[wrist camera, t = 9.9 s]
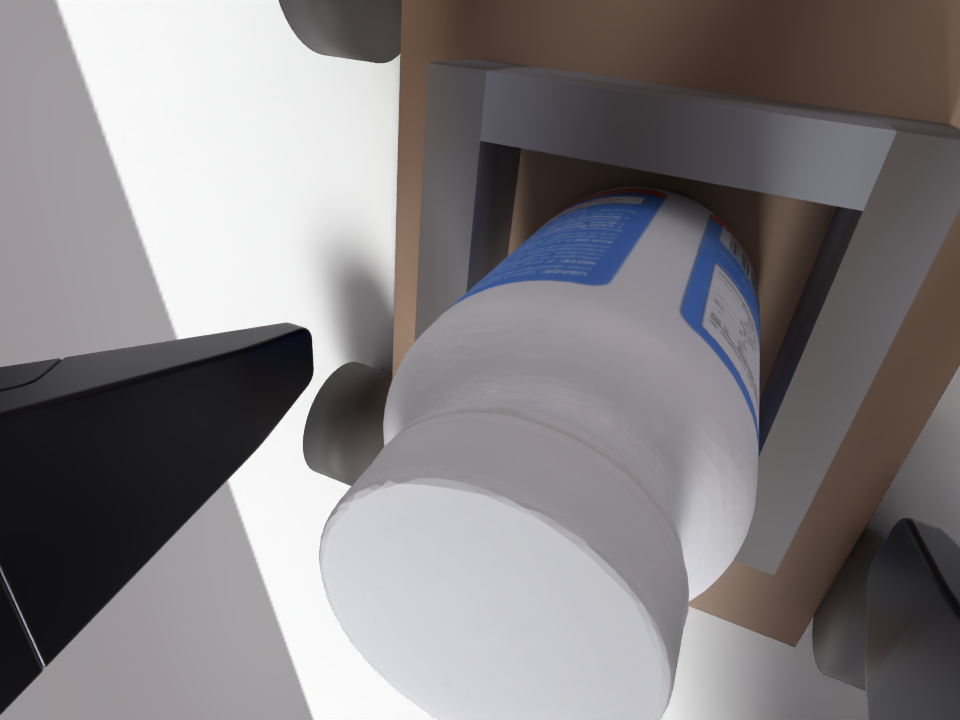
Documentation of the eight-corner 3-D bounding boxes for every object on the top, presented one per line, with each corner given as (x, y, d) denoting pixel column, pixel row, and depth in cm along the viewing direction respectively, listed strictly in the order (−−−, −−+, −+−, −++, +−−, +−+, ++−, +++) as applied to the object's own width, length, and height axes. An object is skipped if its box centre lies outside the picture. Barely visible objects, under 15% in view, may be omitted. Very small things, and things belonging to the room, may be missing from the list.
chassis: (1387, -198, 8) (1735, -331, 5) (846, 639, 17) (861, 762, 14) (372, -200, 13) (253, -269, 10) (370, 458, 22) (308, 523, 19)
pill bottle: (499, 339, 16) (237, 625, 8) (573, 143, 13) (276, 297, 5) (690, 436, 15) (599, 866, 7) (817, 247, 12) (899, 630, 4)
